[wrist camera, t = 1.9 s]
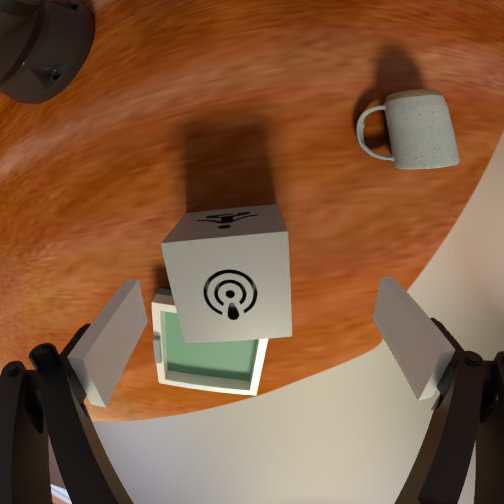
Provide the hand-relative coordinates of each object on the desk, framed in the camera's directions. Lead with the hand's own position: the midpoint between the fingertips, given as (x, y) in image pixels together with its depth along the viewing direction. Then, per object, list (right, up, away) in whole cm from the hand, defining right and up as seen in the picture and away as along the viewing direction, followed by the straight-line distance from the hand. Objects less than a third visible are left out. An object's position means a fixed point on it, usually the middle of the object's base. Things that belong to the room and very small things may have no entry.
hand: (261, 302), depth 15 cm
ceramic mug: (+16, +16, +13) cm, 26 cm away
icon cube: (-2, +3, +18) cm, 19 cm away
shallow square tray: (-6, -9, +23) cm, 25 cm away
